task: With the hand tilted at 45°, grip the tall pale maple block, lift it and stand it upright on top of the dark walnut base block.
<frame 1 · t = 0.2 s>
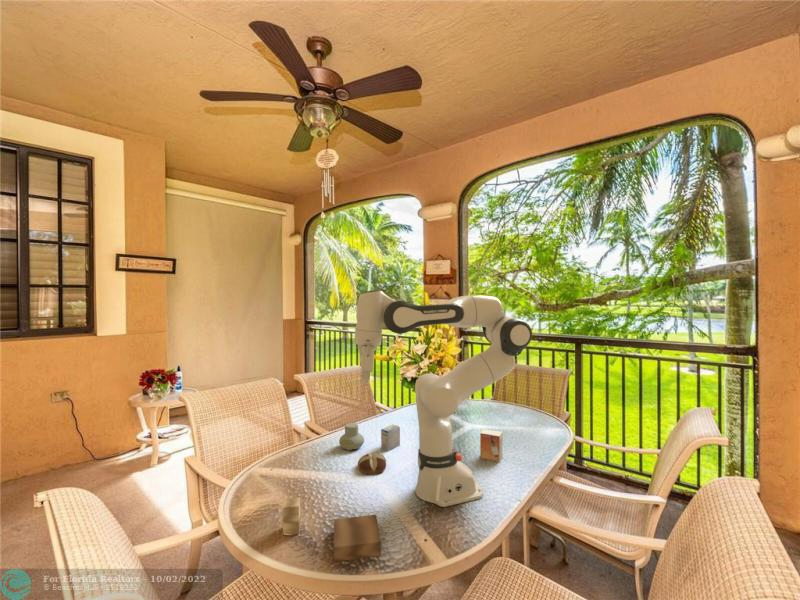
hand: (364, 381, 121), 39 cm above the table, tool pointing down, fingers open, 8 cm apart
small box: (491, 458, 151), on the table
bread: (371, 468, 144), on the table
maple block: (292, 530, 106), on the table
air freshener: (351, 447, 163), on the table
walnut base block: (356, 544, 100), on the table
medicine box: (390, 447, 163), on the table
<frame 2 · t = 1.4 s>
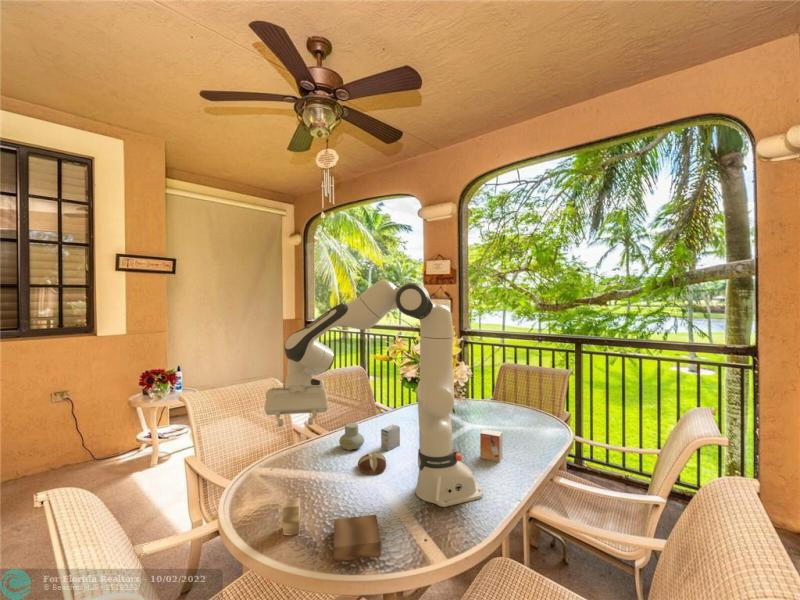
hand: (295, 425, 118), 26 cm above the table, tool tilted 45°, fingers open, 8 cm apart
nothing on the table moved.
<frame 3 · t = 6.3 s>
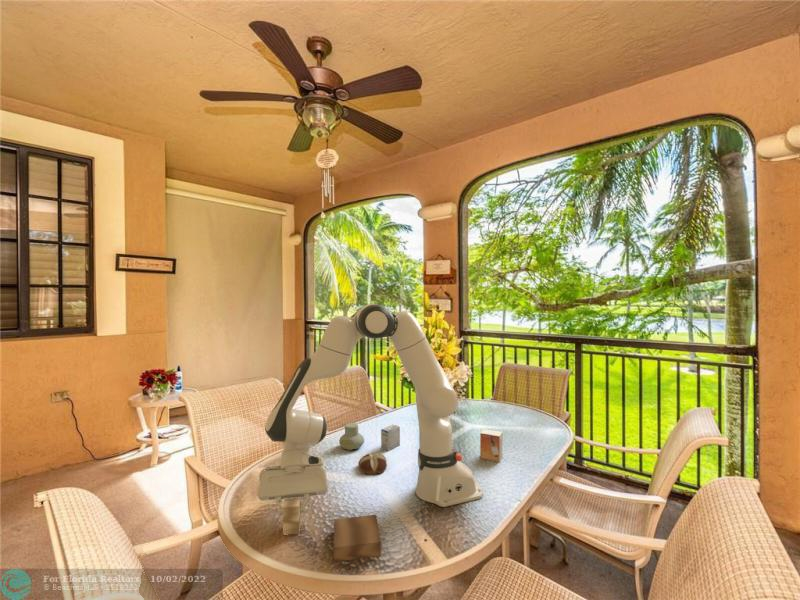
hand: (291, 513, 106), 5 cm above the table, tool tilted 45°, fingers closed on maple block, 4 cm apart
maple block: (292, 530, 106), on the table, touching gripper
everything else where it was.
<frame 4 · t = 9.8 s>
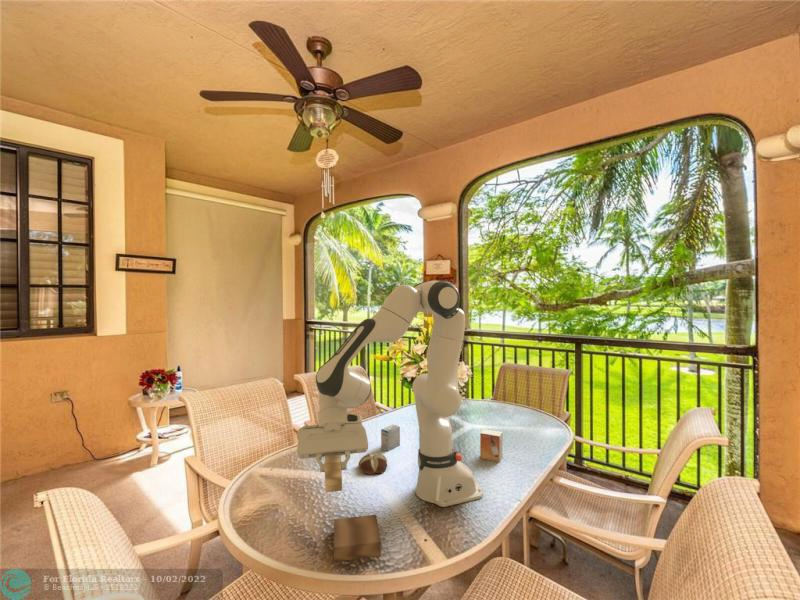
hand: (333, 470, 102), 19 cm above the table, tool tilted 45°, fingers closed on maple block, 4 cm apart
maple block: (334, 487, 102), point 14 cm above the table, touching gripper
everything else where it was.
when the fingers open (10 cm above the table, at t = 13.5 s): maple block drops 2 cm, resting on walnut base block.
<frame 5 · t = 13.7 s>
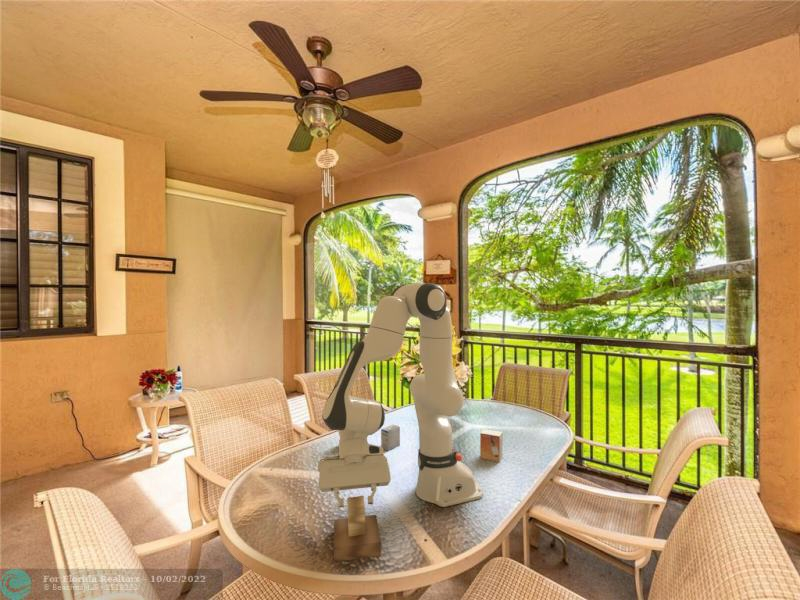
hand: (355, 505, 100), 10 cm above the table, tool tilted 45°, fingers open, 7 cm apart
maple block: (356, 529, 100), point 4 cm above the table, touching walnut base block
walnut base block: (356, 544, 100), on the table, touching maple block
everything else where it was.
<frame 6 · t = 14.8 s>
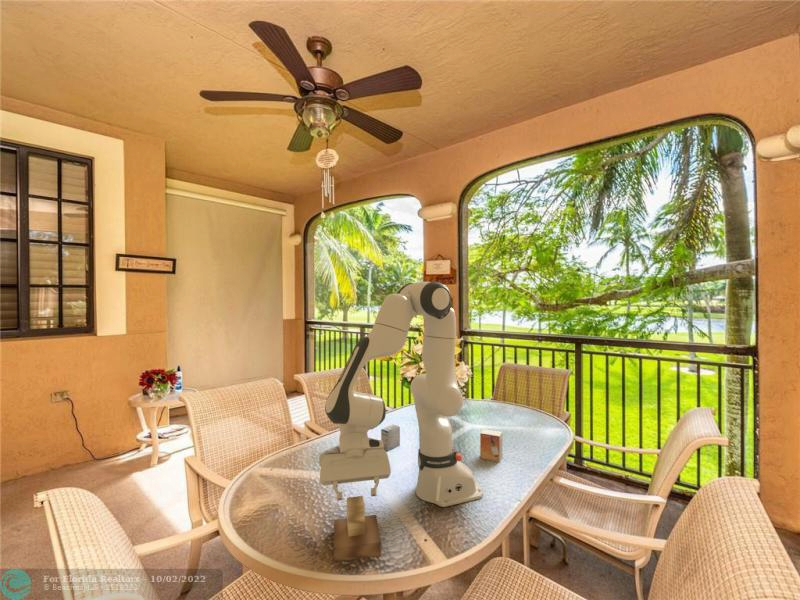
hand: (356, 497, 102), 11 cm above the table, tool tilted 45°, fingers open, 8 cm apart
nothing on the table moved.
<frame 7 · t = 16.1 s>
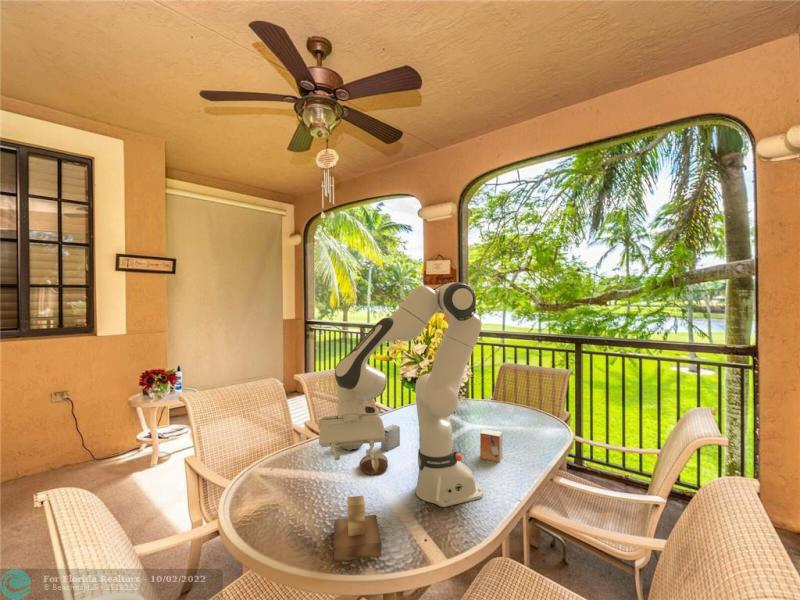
hand: (353, 458, 110), 19 cm above the table, tool tilted 45°, fingers open, 8 cm apart
nothing on the table moved.
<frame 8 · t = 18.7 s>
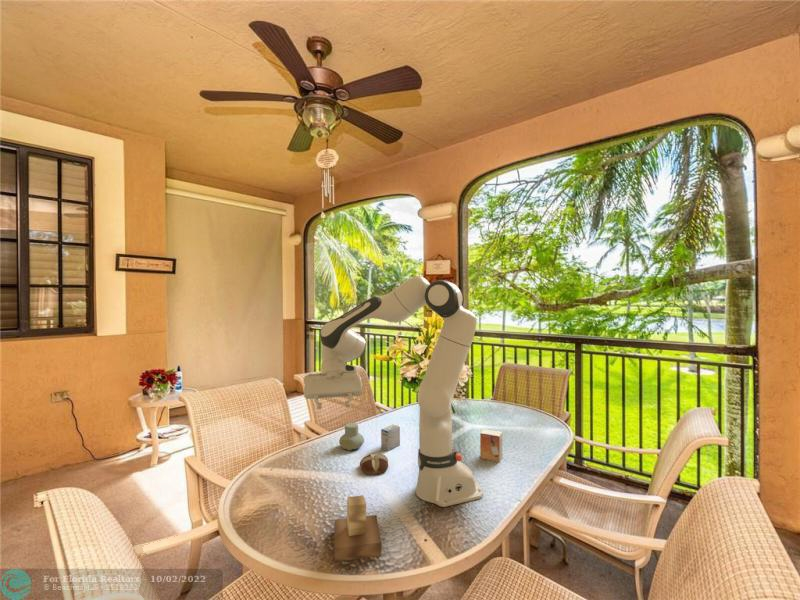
hand: (333, 407, 125), 29 cm above the table, tool tilted 45°, fingers open, 8 cm apart
nothing on the table moved.
at the end: maple block inside the target area on the walnut base block (0.2 cm from its centre), point 4.1 cm above the walnut base block's base; maple block tilted 2°; the gripper is holding nothing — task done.
